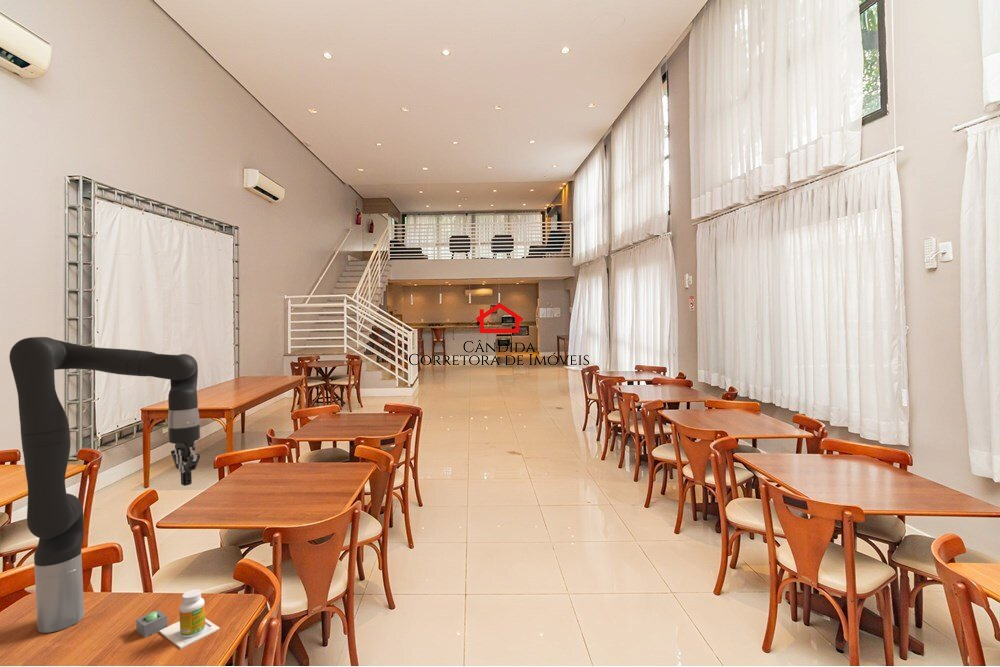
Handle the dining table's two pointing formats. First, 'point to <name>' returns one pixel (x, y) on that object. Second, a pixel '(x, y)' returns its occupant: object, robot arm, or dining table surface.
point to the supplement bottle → (192, 614)
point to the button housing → (151, 624)
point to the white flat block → (175, 637)
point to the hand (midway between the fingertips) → (186, 484)
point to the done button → (151, 616)
